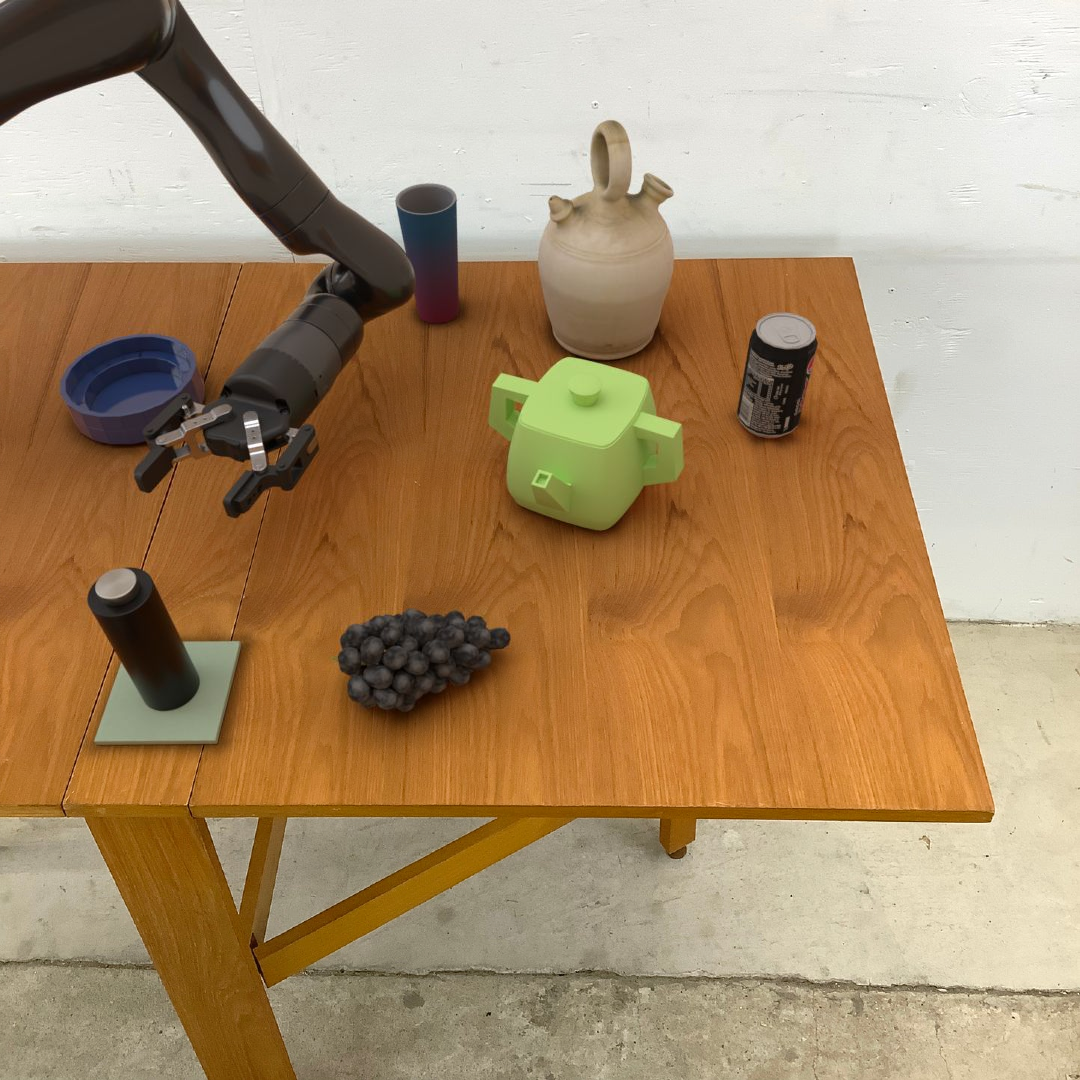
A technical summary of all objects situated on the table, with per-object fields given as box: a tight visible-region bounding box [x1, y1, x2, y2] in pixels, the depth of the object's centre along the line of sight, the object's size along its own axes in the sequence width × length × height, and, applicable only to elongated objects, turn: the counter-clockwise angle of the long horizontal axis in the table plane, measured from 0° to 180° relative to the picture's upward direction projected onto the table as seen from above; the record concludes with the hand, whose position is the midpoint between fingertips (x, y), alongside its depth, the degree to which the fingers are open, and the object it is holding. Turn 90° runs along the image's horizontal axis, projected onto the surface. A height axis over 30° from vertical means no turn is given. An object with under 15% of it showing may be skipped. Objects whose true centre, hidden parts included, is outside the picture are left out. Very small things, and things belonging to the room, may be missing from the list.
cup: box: [395, 182, 460, 325], centre depth 115 cm, size 7×7×15 cm
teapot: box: [487, 356, 685, 531], centre depth 94 cm, size 18×20×13 cm
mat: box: [93, 640, 243, 746], centre depth 84 cm, size 10×10×1 cm
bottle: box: [86, 566, 200, 711], centre depth 78 cm, size 5×5×14 cm
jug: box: [537, 119, 675, 361], centre depth 108 cm, size 15×16×25 cm
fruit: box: [330, 608, 512, 713], centre depth 81 cm, size 9×8×15 cm
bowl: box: [59, 333, 207, 445], centre depth 108 cm, size 14×14×4 cm
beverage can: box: [736, 311, 819, 439], centre depth 101 cm, size 7×7×12 cm
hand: (184, 497), depth 80 cm, fingers open, 8 cm apart
